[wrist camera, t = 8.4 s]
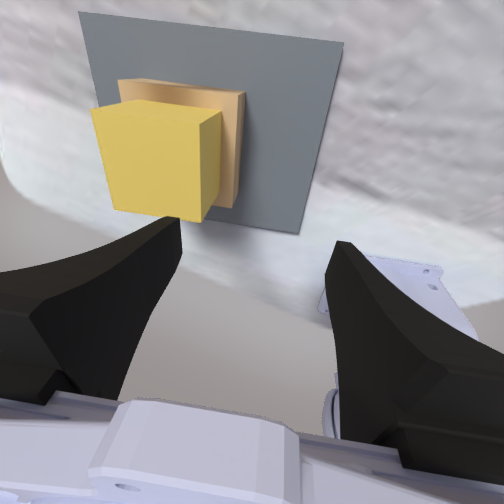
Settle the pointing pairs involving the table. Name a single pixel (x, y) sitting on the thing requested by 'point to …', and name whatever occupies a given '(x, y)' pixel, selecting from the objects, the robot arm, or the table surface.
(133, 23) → the board
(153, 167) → the yellow block
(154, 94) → the oak block
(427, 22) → the table surface
